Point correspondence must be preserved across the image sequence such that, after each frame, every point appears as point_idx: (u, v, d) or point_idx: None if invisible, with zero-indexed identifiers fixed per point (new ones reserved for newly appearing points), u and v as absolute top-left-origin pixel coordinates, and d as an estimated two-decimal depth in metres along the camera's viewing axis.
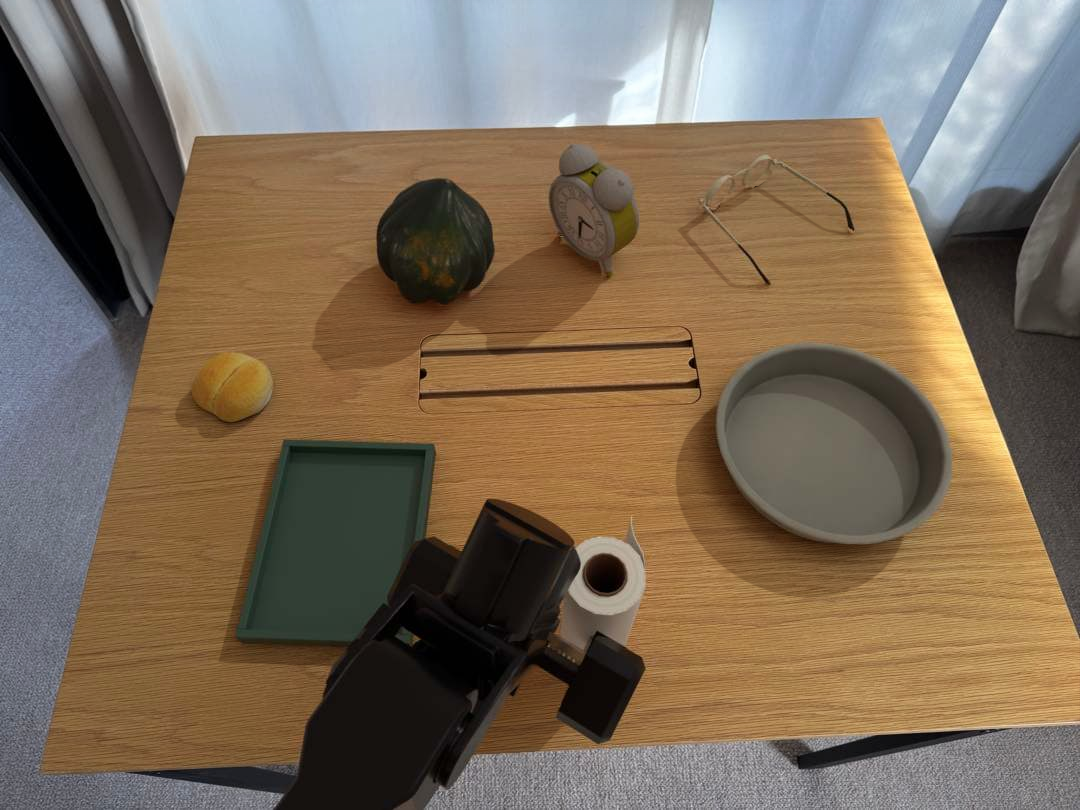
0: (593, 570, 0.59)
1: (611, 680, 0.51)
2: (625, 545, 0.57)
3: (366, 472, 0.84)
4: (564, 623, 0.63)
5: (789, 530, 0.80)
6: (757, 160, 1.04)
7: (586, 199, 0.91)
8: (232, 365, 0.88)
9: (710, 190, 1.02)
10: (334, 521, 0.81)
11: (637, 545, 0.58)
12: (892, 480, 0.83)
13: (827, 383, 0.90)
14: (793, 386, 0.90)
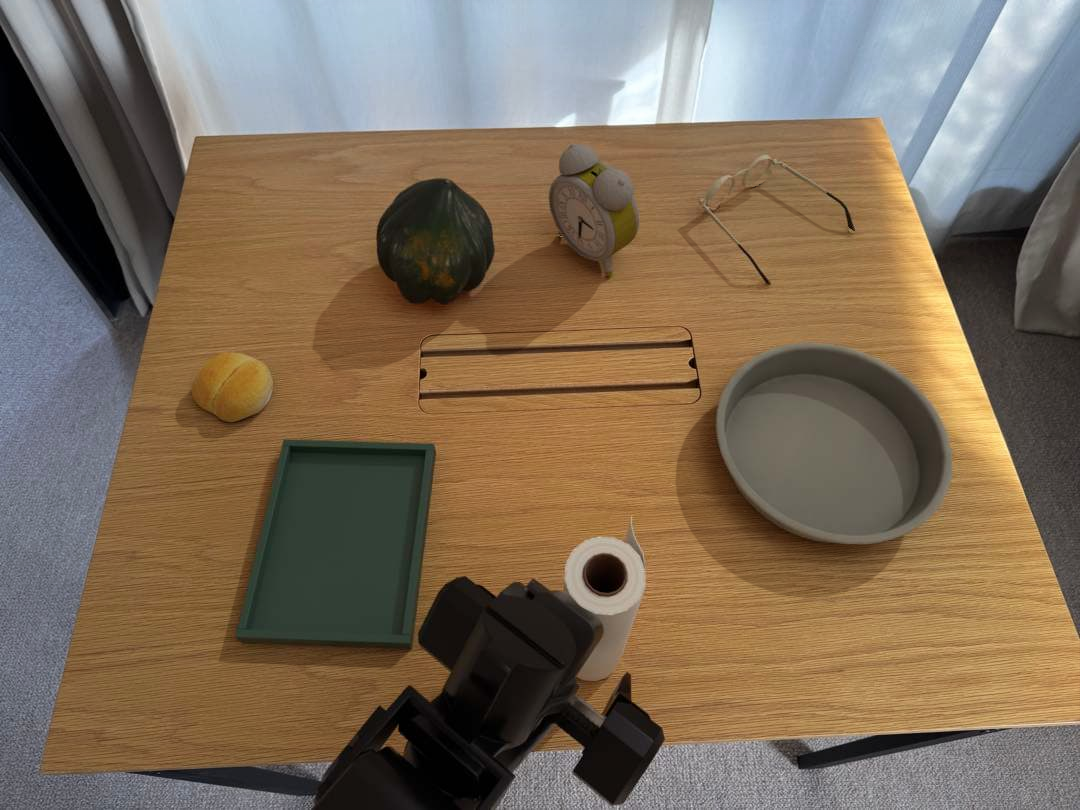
0: (593, 570, 0.59)
1: (625, 754, 0.50)
2: (625, 545, 0.57)
3: (366, 472, 0.84)
4: None
5: (789, 530, 0.80)
6: (757, 160, 1.04)
7: (586, 199, 0.91)
8: (232, 365, 0.88)
9: (710, 190, 1.02)
10: (334, 521, 0.81)
11: (637, 545, 0.58)
12: (892, 480, 0.83)
13: (827, 383, 0.90)
14: (793, 386, 0.90)
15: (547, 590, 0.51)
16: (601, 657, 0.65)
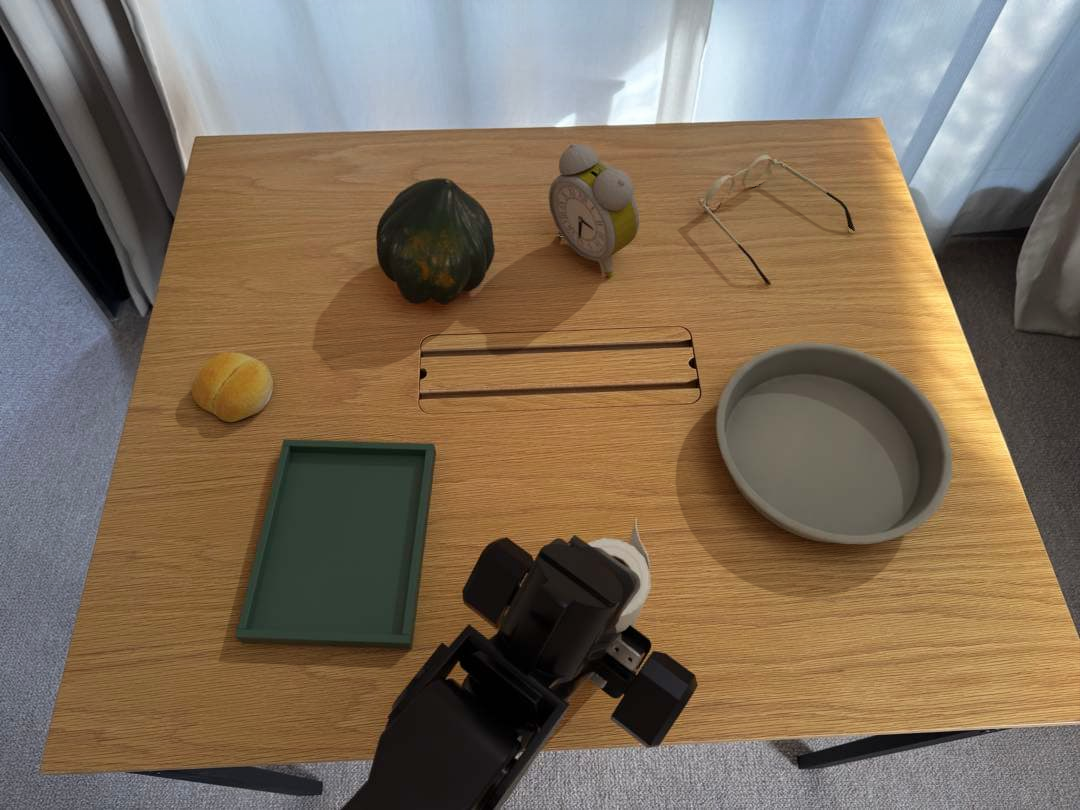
0: None
1: (661, 698, 0.54)
2: (630, 547, 0.57)
3: (366, 472, 0.84)
4: None
5: (789, 530, 0.80)
6: (757, 160, 1.04)
7: (586, 199, 0.91)
8: (232, 365, 0.88)
9: (710, 190, 1.02)
10: (334, 521, 0.81)
11: (641, 547, 0.57)
12: (892, 480, 0.83)
13: (827, 383, 0.90)
14: (793, 386, 0.90)
15: (588, 545, 0.55)
16: None
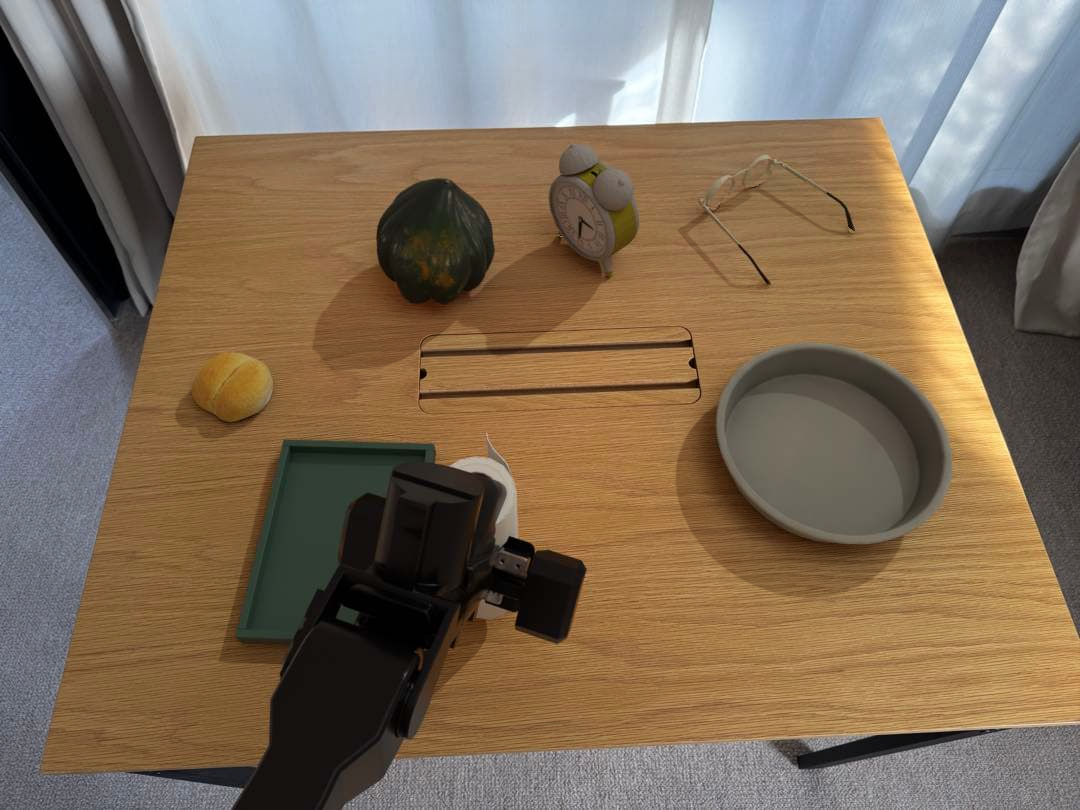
0: None
1: (555, 589, 0.55)
2: (487, 460, 0.58)
3: (366, 472, 0.84)
4: None
5: (789, 530, 0.80)
6: (757, 160, 1.04)
7: (586, 199, 0.91)
8: (232, 365, 0.88)
9: (710, 190, 1.02)
10: (334, 521, 0.81)
11: (498, 457, 0.58)
12: (892, 480, 0.83)
13: (827, 383, 0.90)
14: (793, 386, 0.90)
15: None
16: None
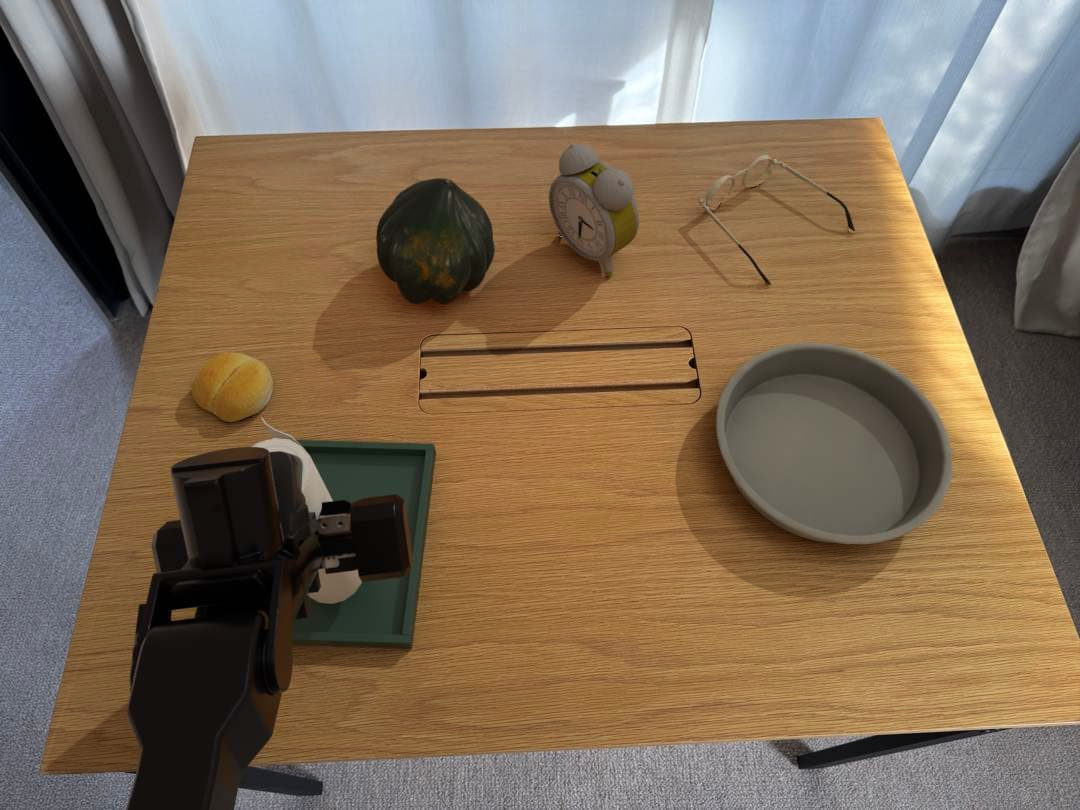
0: None
1: (381, 526, 0.58)
2: (272, 440, 0.59)
3: (366, 472, 0.84)
4: None
5: (789, 530, 0.80)
6: (757, 160, 1.04)
7: (586, 199, 0.91)
8: (232, 365, 0.88)
9: (710, 190, 1.02)
10: None
11: (282, 434, 0.59)
12: (892, 480, 0.83)
13: (827, 383, 0.90)
14: (793, 386, 0.90)
15: None
16: None
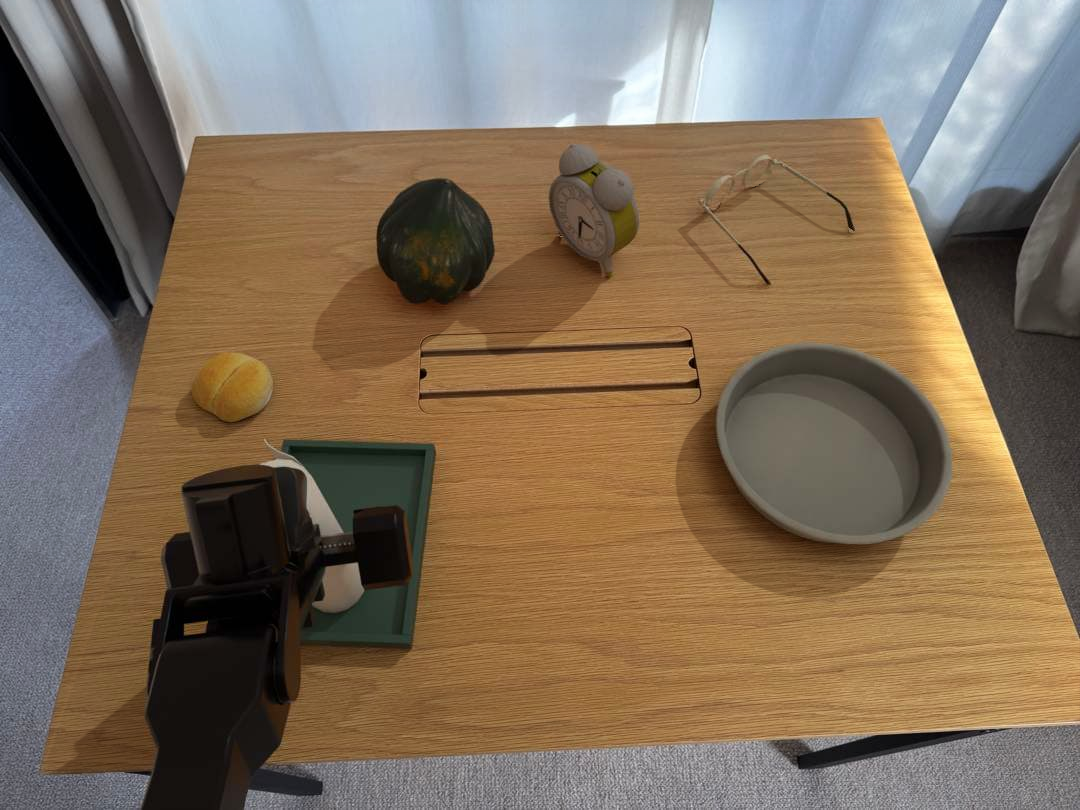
0: None
1: (383, 537, 0.60)
2: (274, 461, 0.60)
3: (366, 472, 0.84)
4: None
5: (789, 530, 0.80)
6: (757, 160, 1.04)
7: (586, 199, 0.91)
8: (232, 365, 0.88)
9: (710, 190, 1.02)
10: None
11: (284, 455, 0.61)
12: (892, 480, 0.83)
13: (827, 383, 0.90)
14: (793, 386, 0.90)
15: None
16: (337, 570, 0.68)
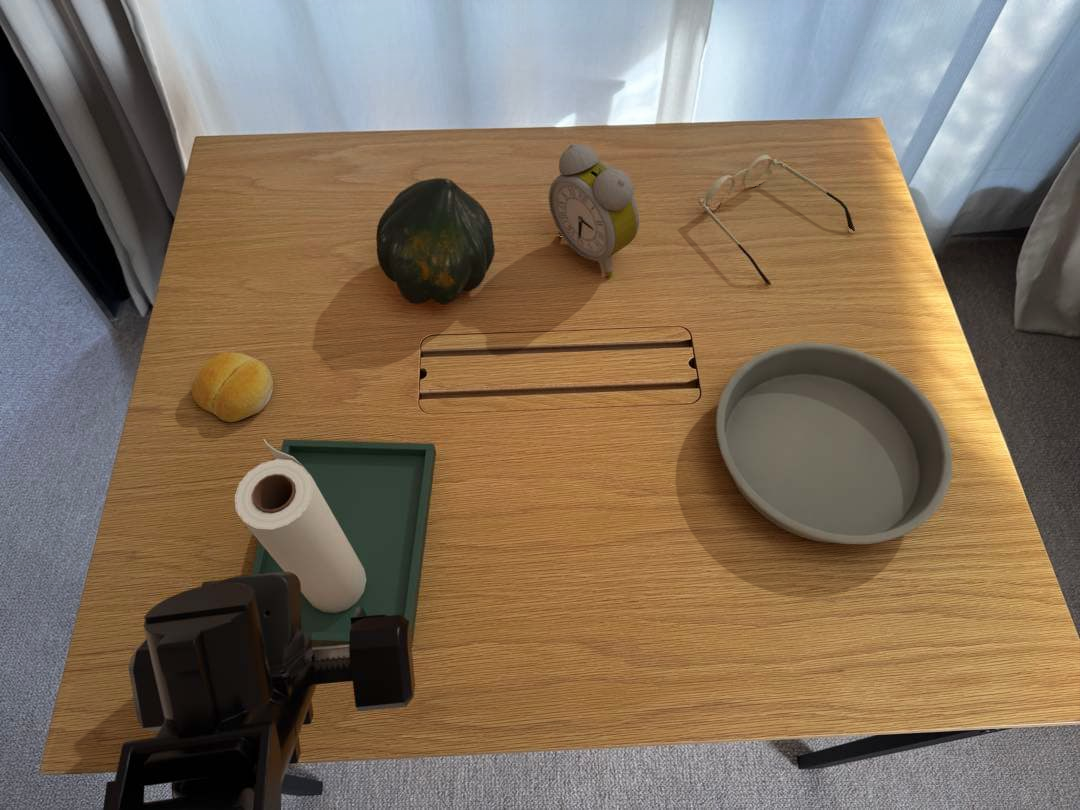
0: (267, 503, 0.62)
1: (383, 655, 0.53)
2: (274, 462, 0.60)
3: (366, 472, 0.84)
4: (284, 567, 0.65)
5: (789, 530, 0.80)
6: (757, 160, 1.04)
7: (586, 199, 0.91)
8: (232, 365, 0.88)
9: (710, 190, 1.02)
10: None
11: (284, 455, 0.61)
12: (892, 480, 0.83)
13: (827, 383, 0.90)
14: (793, 386, 0.90)
15: None
16: (336, 570, 0.68)
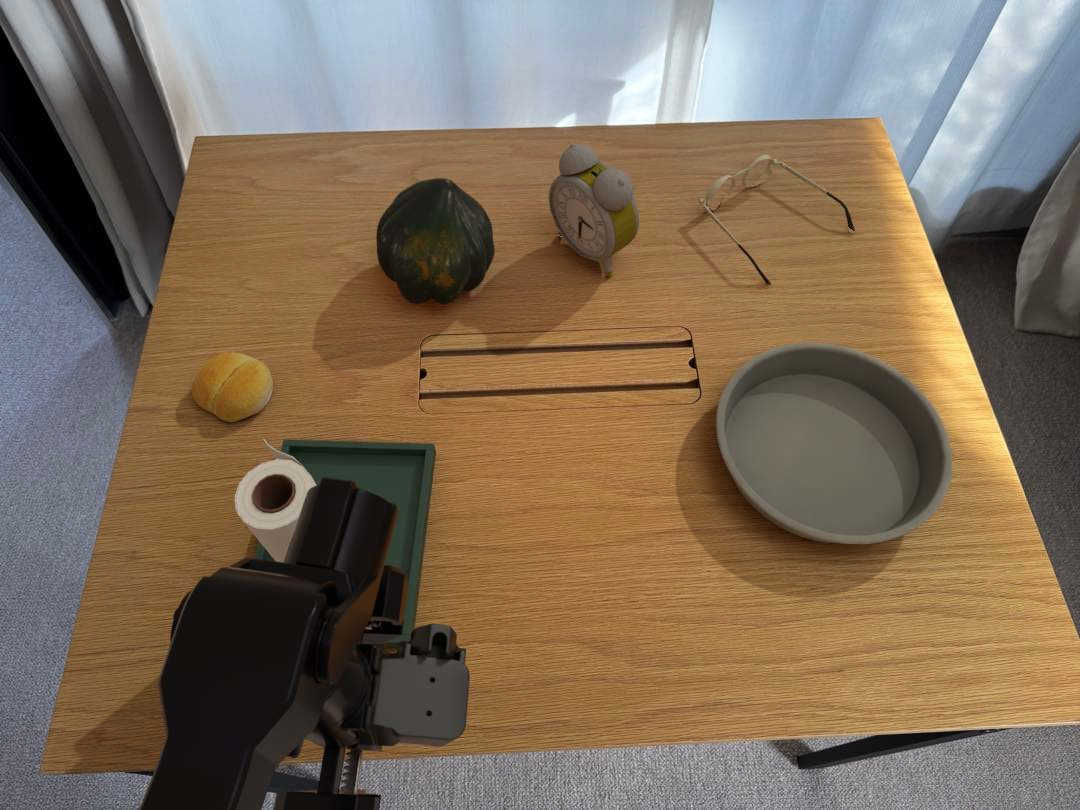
0: (267, 503, 0.62)
1: None
2: (274, 462, 0.60)
3: (366, 472, 0.84)
4: None
5: (789, 530, 0.80)
6: (757, 160, 1.04)
7: (586, 199, 0.91)
8: (232, 365, 0.88)
9: (710, 190, 1.02)
10: None
11: (284, 455, 0.61)
12: (892, 480, 0.83)
13: (827, 383, 0.90)
14: (793, 386, 0.90)
15: None
16: None
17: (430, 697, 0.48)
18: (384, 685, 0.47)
